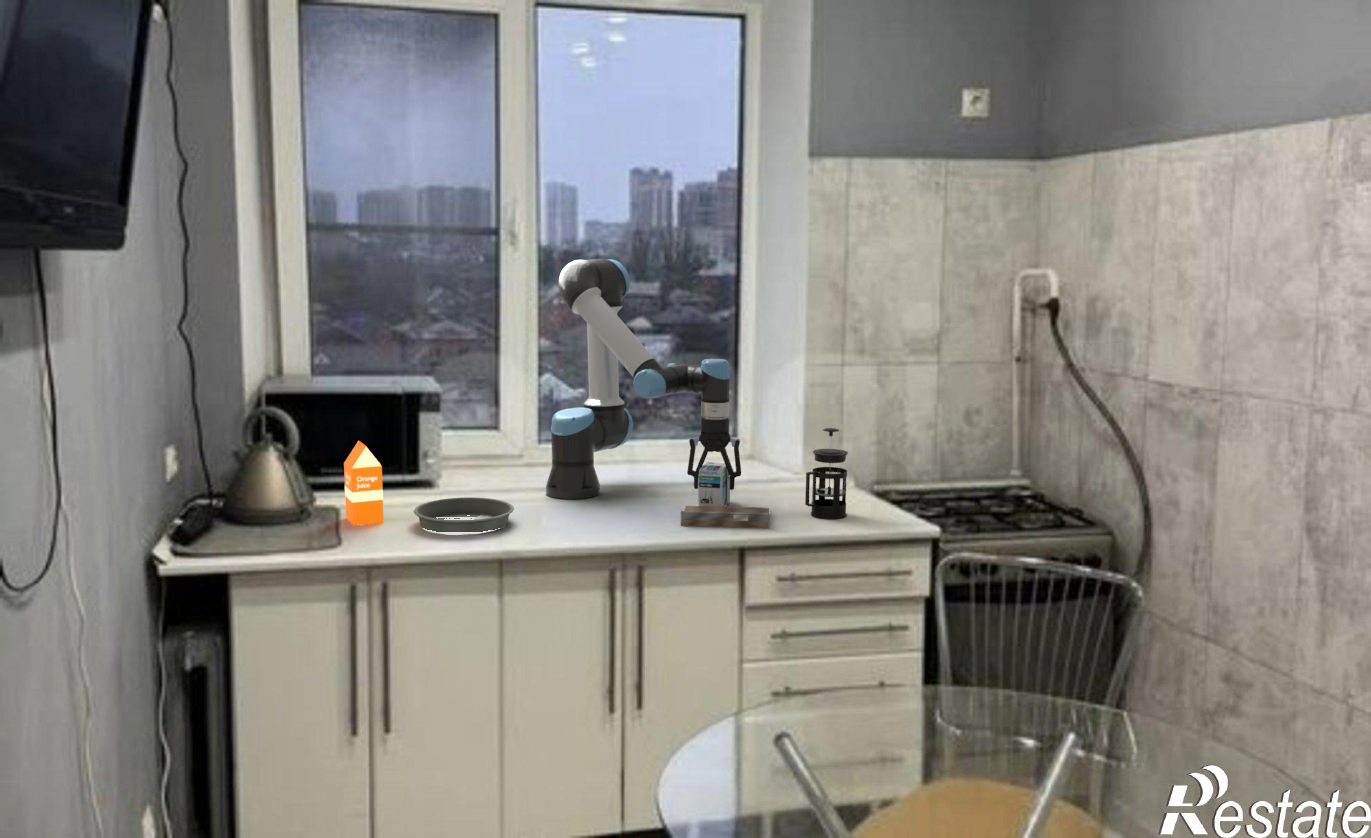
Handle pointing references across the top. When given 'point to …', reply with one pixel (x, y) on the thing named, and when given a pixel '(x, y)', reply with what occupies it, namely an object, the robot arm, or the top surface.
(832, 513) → the french press
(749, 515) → the shelf board
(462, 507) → the cake pan
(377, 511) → the orange juice
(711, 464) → the light bulb box
